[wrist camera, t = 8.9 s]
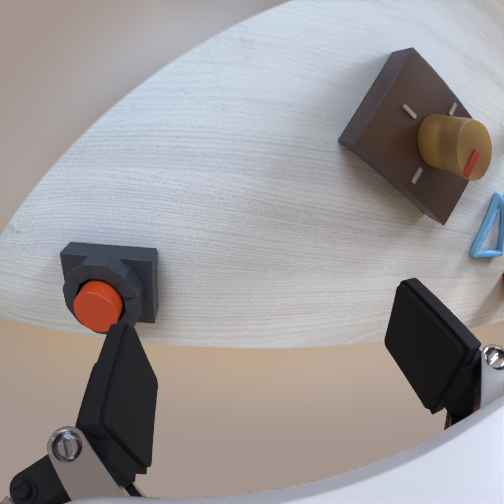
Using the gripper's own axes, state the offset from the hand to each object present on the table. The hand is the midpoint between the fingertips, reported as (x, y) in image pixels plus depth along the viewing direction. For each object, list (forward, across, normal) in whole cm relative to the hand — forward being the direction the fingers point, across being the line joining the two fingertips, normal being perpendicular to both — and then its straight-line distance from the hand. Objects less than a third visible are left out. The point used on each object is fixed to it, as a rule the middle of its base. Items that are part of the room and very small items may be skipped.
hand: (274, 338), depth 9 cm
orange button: (+11, +11, +4) cm, 16 cm away
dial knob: (+11, -16, -6) cm, 20 cm away
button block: (+14, +11, +4) cm, 19 cm away
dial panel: (+14, -16, -6) cm, 22 cm away
